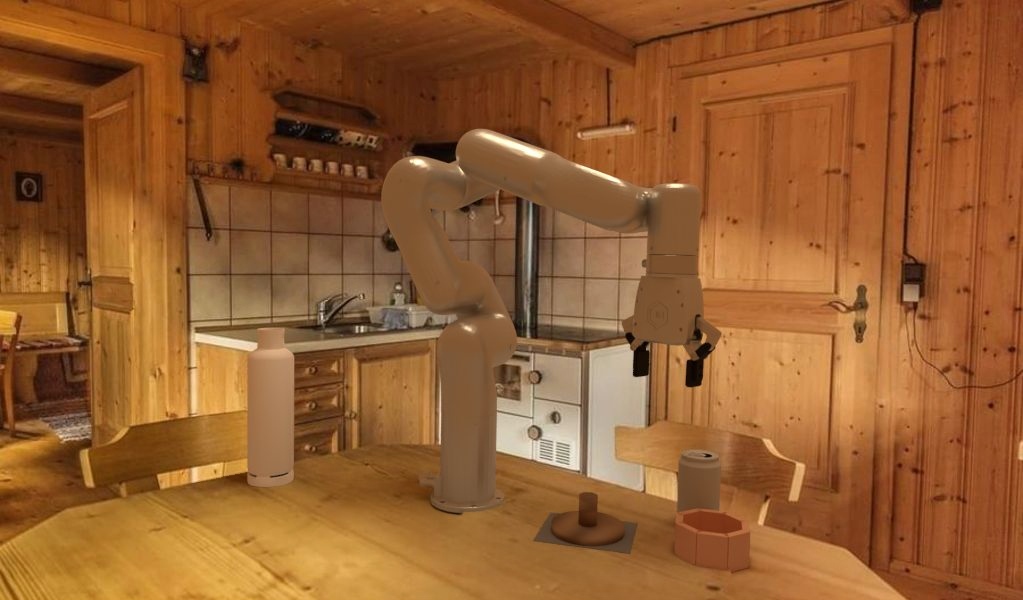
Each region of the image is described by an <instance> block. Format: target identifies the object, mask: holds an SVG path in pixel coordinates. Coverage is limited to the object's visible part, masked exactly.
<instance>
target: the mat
mask: <svg viewBox="0 0 1023 600" xmlns="http://www.w3.org/2000/svg"><path fill="white" fill-rule="evenodd" d="M559 514H561V513H558V512H550V513H549V515H548V516H547V517H546V519H545V521H544V523H543V524H542V525H541V527H540V529H539V531H538V532H537V533H536V535H535V537H534V539H533V541H532V542H538V543H546V544H553V545H559V546H560V545H561V546H567V547H569V546H570V547H574V548H575V547H576V548H582V549H590V550H598V551H606V552H614V553H620V554H628V555H630V554H631V551H632V547H633V543H634V540H635V536H636V531H637V527H638V524H639V522H634V521H627V520H625V521H624V520H621V521H622V522H623V524H624V537H623V538H622V539H621V540H620V541H618V542H616V543H614V544H610V545H605V546H582V545H575V544H571V543H567V542H565V541H562V540H560V539H558V538H557V537H555V536H554V535H553V534H552V532H551V521H552V519H553V518H554V517H555V516H557V515H559Z"/></svg>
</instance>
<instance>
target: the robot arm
mask: <svg viewBox="0 0 1023 600" xmlns="http://www.w3.org/2000/svg"><path fill="white" fill-rule="evenodd" d="M455 158H456V160H454V161H452V162H450V163H447V162H445V161H442V160H439V159H435V158H430V157H427V156H423V155H412V156H407V157H403V158H402V159H400V160H398V161H397V162H395V163H394V164H393V165H392V167H391V168H390V169H389V170H388V171H387V174H386V176H385V178H384V180H383V185H382V189H381V196H380V197H381V198H380V199H381V201H380V202H381V203H380V204H381V210H382V215H383V218H384V220H385V223H386V225H387V227H388V229H389V231H390V233H391V235H392V237H393V240H394V241H395V244H396V245H397V247H398V249H399V251H400V253H401V256H402V258H403V259H402V260H403V261H404V263H405V264H404V265H405V266H406V269H407V270H408V272H409V274H410V278H411V280H412V282H413V285H414V286H415V288H416V290H417V293H418V295H419V296H420V299H421V301H422V303H423V305H424V307H425V308H426V309H427V310H428V311H429V312H431V313H432V314H434V315H439V316H452V315H455V317H456V318H457V319H455V320H453V321H451V322H450V323H447V325H446V326H445V327H444V328H443V330H442V331H441V333H440V335H439V337H438V339H437V344H436V360H437V365H438V372H439V377H440V379H439V380H440V381H439V382H440V448H439V449H440V457H439V458H440V459H439V461H440V462H439V467H440V468H439V471H437V472H436V473H434V472H429V471H420V472H419V474H418V476H417V477H418V483H419V486H420V487H427V488H428V487H429V488H432V489H433V490H432V492H431V493H430V500H429V501H430V504H431V505H432V506H434V507H435V508H437V509H439V510H442V511H444V512H448V513H452V514H453V513H455V514H463V513H469V512H471V513H472V512H482V511H487V510H492V509H495V508H497V507H499V506H501V505H502V504H503V503H504V502H505V493H504V492H503V491H502V490H501V489H499V488H497V487H496V483H497V481H496V480H497V479H496V476H497V474H496V473H497V472H496V471H497V432H498V431H497V423H498V394H497V393H498V392H497V385H496V380H495V376H494V368H496V367H499V366H501V365H504V364H505V363H507V362H508V361H510V359H511V358H512V357H513V356H514V354H515V352H516V350H517V346H518V336H517V332H516V331H517V330H516V329H515V326H514V323H513V321H512V318H511V316H510V314H509V312H508V310H507V308H506V305H505V303H504V301H503V299H502V297H501V295H500V293H499V291H498V288H497V287H496V284H495V282H494V280H493V278H492V277H491V275H490V274H489V273H488V272H487V271H486V269H485V268H484V267H483V266H481V265H480V264H478V263H476V262H473V261H471V260H461V259H460V258H459V257H458V256H457V254H456V252H455V250H454V248H453V247H452V243H450V239H449V237H448V235H447V232H446V231H445V229H444V227H443V226H442V225H441V224H440V222H439V221H438V220H437V218H436V217H435V216H434V213H433V212H432V210H439V211H444V212H445V211H447V212H448V211H455V210H458V209H461V208H463V207H466V206H468V205H471V204H472V203H474V202H477V201H478V200H481V199H483V198H485V197H488V196H490V195H491V194H494V193H497V192H499V191H500V190H501V191H502V192H503V191H504V192H506V193H509V194H511V195H513V196H516V197H518V198H521V199H524V200H526V201H528V202H530V203H533V204H536V205H537V206H540V207H541V206H542V207H547V208H550V209H552V210H554V211H557V212H559V213H562V214H564V215H567V216H570V217H571V218H575V219H577V220H580V221H582V222H585V223H587V224H589V225H592V226H595V227H597V228H600V229H603V230H605V231H609V232H615V233H616V232H617V233H620V234H627V235H628V234H637V233H644V232H645V233H647V237H646V239H647V240H646V258H644V259H642V260H641V267H642V268H645V275H641V276H640V280H639V282H638V286H637V289H636V295H635V302H634V310H633V315H631V316H629V317H627V318H625V319H624V320H622V321H621V326H622V328H623V332H624V334H625V335H624V336H625V340H626V341H627V343H628V344H629V349H630V351H633V354H632V355H633V356H632V377H633V378H640V377H641V378H642V377H647V376H649V374H650V358H651V357H650V355H651V352H650V349H649V350H648V347H650V345H651V344H652V343H655V344H659V345H660V344H661V345H668V346H675V347H676V346H682V347H683V348H684V350H685V351H686V353H687V355H688V357H689V358H690V359H687V360H686V362H685V382H684V383H685V384H684V385H685V387H686V388H695V387H701V386H702V384H703V383H702V381H703V379H704V368H705V367H704V365H705V363H704V362H705V360H706V359H708V357H709V356H710V355H711V353H712V352H713V351H714V350H716V345H717V344H718V343H719V341H720V339H721V337H722V331H721V330H719V329H718V328H717V327H715V326H714V325H713V324H711V323H710V322H709V321H708V320H706V319H705V313H704V311H705V309H704V307H705V306H704V293H703V286H702V281H701V278H699V277H698V271H699V270H698V268H699V267H698V265H699V247H700V244H699V243H700V227H701V226H700V225H701V223H700V222H701V207H702V206H701V205H702V195H701V190H700V189H699V187H698V186H696V185H693V184H690V183H683V182H680V183H678V182H675V183H673V182H669V183H660V184H657V185H654V186H652V187H644V186H642V187H641V186H638V185H635V184H633V183H631V182H628V181H626V180H625V179H624V180H623V179H621V178H618V177H616V176H612V175H609V174H606V173H604V172H601V171H598V170H596V169H593V168H590V167H587V166H584V165H582V164H579V163H576V162H573V161H572V160H571V161H570V160H568V159H566V158H564V157H562V156H561V155H560V154H557V153H556V152H553V151H550V150H547V149H545V148H542V147H539V146H536V145H533V144H530V143H528V142H525V141H521V140H519V139H517V138H513V137H511V136H507V135H506V134H502V133H500V132H497V131H494V130H492V129H488V128H475V129H472V130H469V131H467V132H465V133H464V134H463V135H462V136H461V137H460V139H459V140H458V141H457V145H456V149H455ZM704 334H705V336H706V339H705V340H704V341H705V342H703V343H702V341H703V337H704Z"/></svg>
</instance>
